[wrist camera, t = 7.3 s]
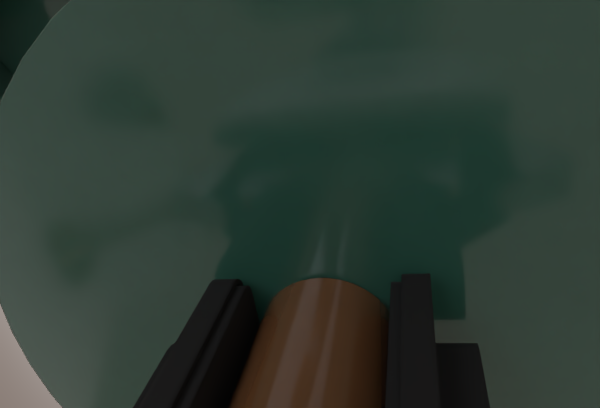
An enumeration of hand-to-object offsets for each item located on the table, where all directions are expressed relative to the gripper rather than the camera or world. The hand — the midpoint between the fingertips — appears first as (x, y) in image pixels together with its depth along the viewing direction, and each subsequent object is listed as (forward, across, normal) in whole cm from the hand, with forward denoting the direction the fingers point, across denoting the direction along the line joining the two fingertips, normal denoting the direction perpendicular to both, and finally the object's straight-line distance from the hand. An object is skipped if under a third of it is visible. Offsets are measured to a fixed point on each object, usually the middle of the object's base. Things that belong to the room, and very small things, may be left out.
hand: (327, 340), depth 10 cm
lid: (+1, 0, 0) cm, 1 cm away
